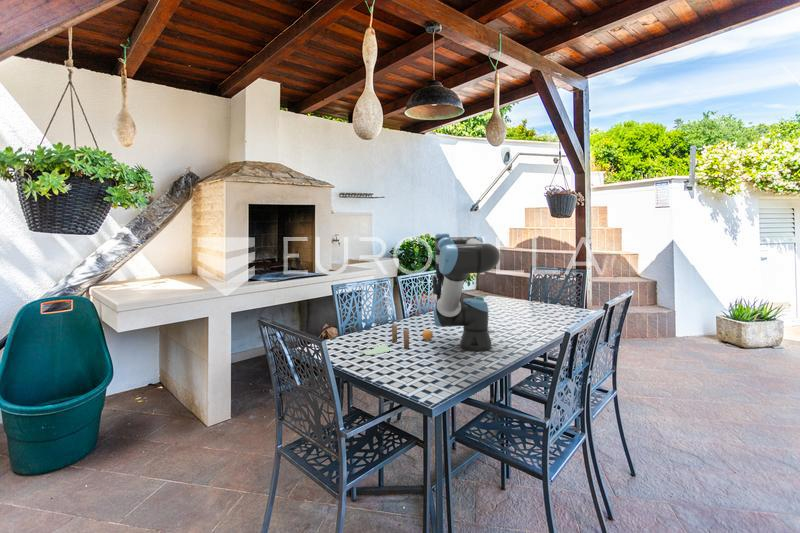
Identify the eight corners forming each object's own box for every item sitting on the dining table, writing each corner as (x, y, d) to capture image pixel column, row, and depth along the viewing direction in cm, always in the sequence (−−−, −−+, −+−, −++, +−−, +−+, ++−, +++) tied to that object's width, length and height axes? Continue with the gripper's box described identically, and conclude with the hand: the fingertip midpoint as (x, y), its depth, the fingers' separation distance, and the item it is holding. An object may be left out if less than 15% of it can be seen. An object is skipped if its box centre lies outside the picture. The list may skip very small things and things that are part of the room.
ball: (434, 340, 198) (434, 330, 197) (425, 342, 195) (425, 331, 195) (429, 338, 203) (429, 327, 202) (420, 339, 200) (420, 329, 200)
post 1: (398, 341, 197) (397, 324, 196) (393, 342, 196) (393, 325, 195) (395, 340, 199) (395, 323, 198) (391, 341, 198) (391, 324, 197)
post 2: (410, 348, 186) (409, 330, 185) (405, 349, 184) (405, 330, 184) (407, 346, 188) (407, 329, 187) (402, 347, 187) (402, 329, 186)
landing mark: (394, 350, 182) (394, 350, 182) (367, 355, 176) (367, 355, 176) (381, 343, 195) (381, 343, 195) (356, 347, 188) (356, 347, 188)
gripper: (451, 261, 207) (451, 304, 209) (425, 263, 200) (426, 307, 202) (459, 262, 200) (459, 306, 203) (433, 264, 193) (434, 309, 195)
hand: (443, 306), depth 202 cm, fingers open, 3 cm apart
